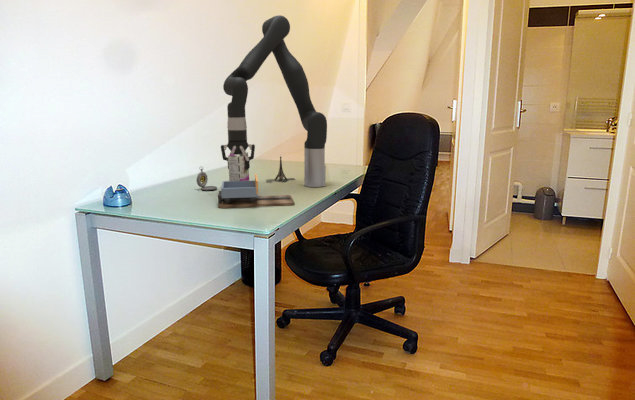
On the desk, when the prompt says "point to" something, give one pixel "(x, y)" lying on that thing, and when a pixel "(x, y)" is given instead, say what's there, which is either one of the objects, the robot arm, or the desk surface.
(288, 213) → the desk surface
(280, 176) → the eiffel tower figurine
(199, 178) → the pocket watch
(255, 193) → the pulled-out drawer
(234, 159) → the candy bar box
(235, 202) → the track
